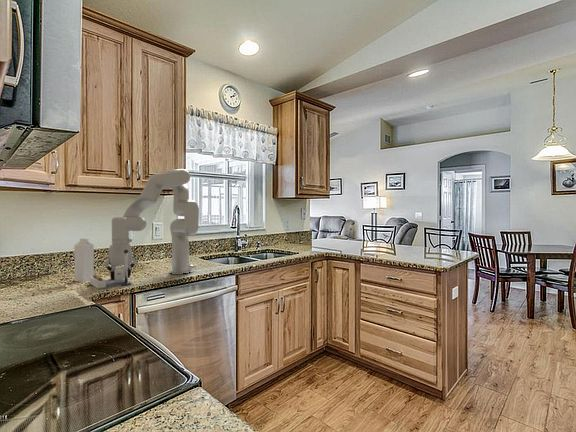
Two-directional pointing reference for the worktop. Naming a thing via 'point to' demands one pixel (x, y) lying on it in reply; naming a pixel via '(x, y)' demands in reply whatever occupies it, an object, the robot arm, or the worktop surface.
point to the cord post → (126, 269)
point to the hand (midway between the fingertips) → (120, 278)
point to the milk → (84, 260)
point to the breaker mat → (110, 283)
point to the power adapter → (119, 274)
